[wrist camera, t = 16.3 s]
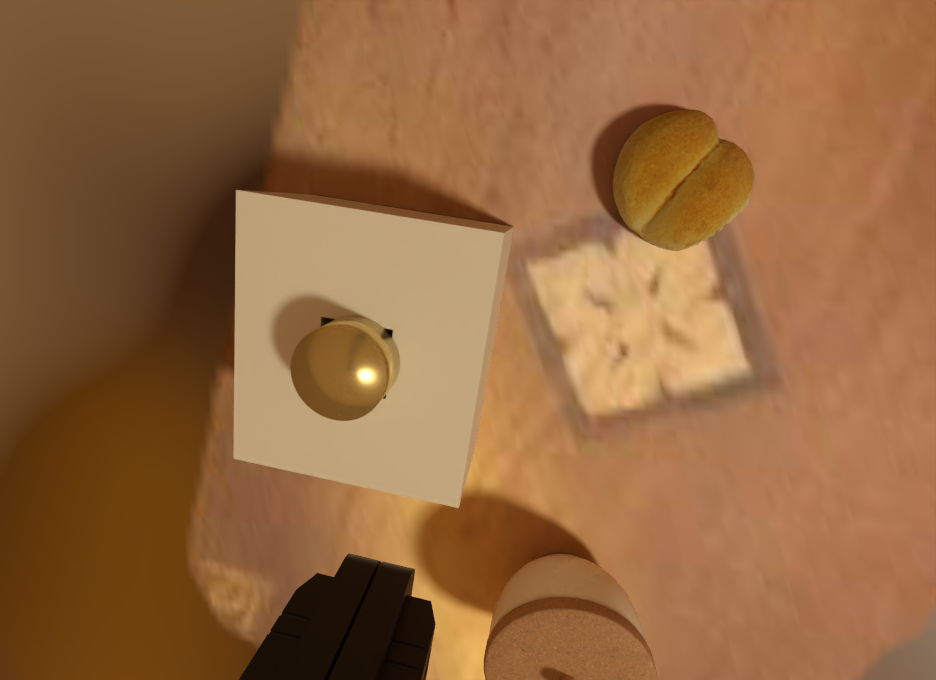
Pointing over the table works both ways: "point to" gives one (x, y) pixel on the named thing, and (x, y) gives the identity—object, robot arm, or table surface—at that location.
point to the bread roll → (680, 180)
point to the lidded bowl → (566, 626)
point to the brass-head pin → (345, 367)
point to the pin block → (382, 300)
